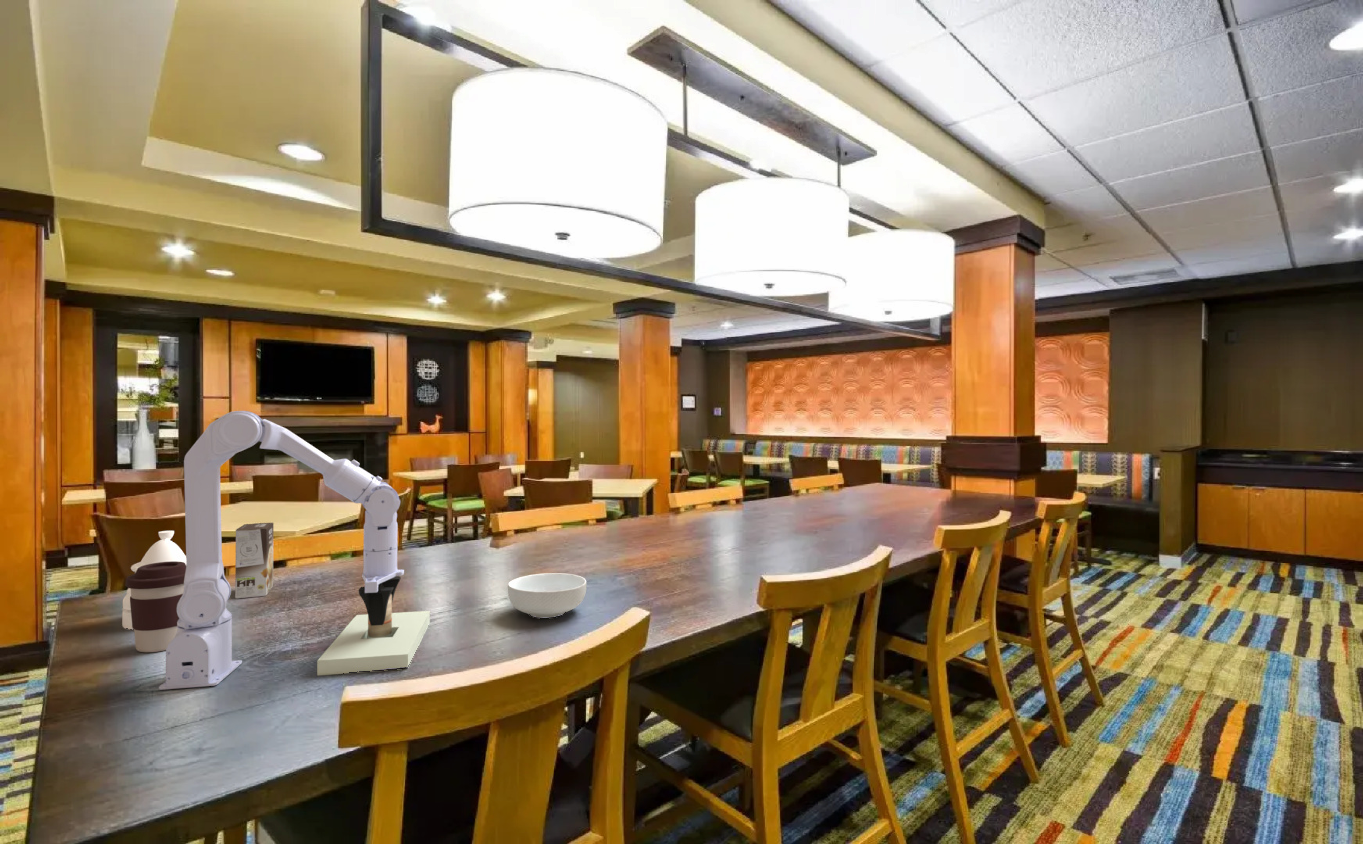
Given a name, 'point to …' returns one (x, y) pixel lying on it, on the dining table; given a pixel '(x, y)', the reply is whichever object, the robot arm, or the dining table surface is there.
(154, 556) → the honey pot
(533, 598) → the cereal bowl
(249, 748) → the dining table surface
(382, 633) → the peg
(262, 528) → the coffee box
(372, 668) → the board
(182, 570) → the coffee cup
